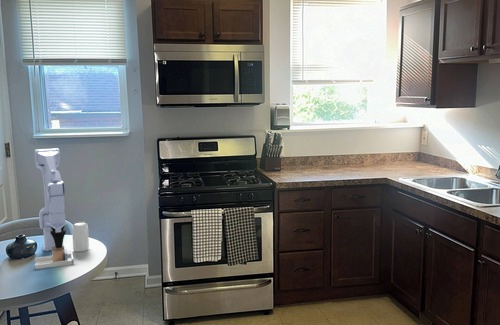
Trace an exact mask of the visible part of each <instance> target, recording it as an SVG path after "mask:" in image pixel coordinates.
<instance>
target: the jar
mask: <svg viewBox="0 0 500 325" xmlns="http://www.w3.org/2000/svg"><path fill="white" fill-rule="evenodd" d="M64 249H65V245H63V246H62V248H56V246H54V247H52V250H51V253H52V254H51V256H52V255H53V262H57V261H65V252H64Z"/></svg>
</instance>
